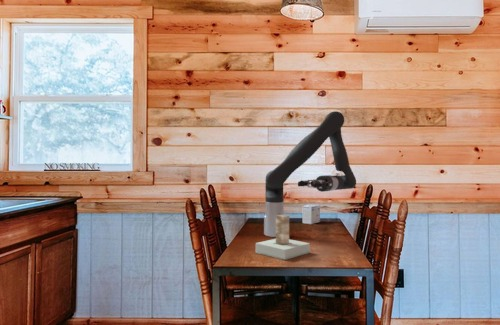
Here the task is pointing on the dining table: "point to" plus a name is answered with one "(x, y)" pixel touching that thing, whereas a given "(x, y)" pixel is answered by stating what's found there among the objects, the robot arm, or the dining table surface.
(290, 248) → the socket block
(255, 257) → the dining table surface
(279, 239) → the peg
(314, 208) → the light bulb box
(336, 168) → the robot arm
